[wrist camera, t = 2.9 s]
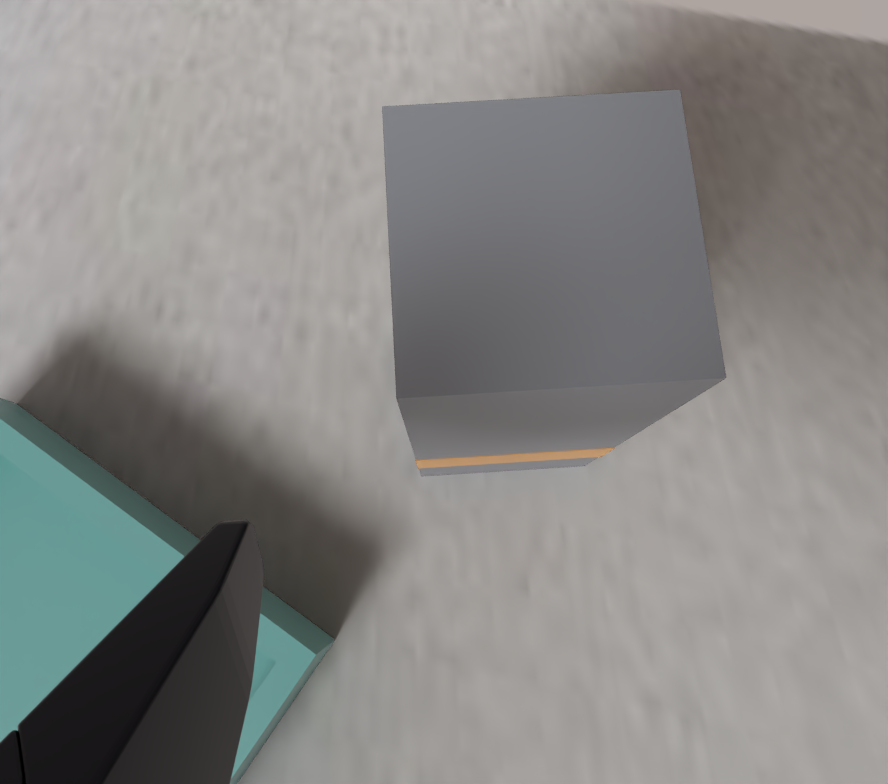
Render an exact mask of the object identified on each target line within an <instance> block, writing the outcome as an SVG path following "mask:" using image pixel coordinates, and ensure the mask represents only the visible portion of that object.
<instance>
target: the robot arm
mask: <svg viewBox="0 0 888 784" xmlns="http://www.w3.org/2000/svg"><path fill="white" fill-rule="evenodd" d="M263 582H264V567H263V561H262V557H261V553H260V549H259V545H258V542H257V538H256V534H255V530H254V527H253V525H252V523H251V522H250V521H248V520H231V521H222V522H219V523H218V524H216V525H215V526H214V527H213V528H212V529H211V530H210V531H209V532H208V533H207V534H206V535H205V536H204V537H203V538H202V539H201V540H200V541H199V542H198V543H197V544H196V545H195V546H194V547H193V548H192V549H191V550H190V551H189V552H188V553H187V554H186V555H185V556H184V557H183V558H182V559H181V560H180V561H179V563H178V564H177V565H176V566H175V567H174V568H173V569H172V570H171V571H170V572H169V573H168V574H167V575H166V576H165V577H164V578H163V579H162V580H161V581H160V582H159V583H158V584H157V585H156V586H155V587H154V588H153V589H152V590H151V591H150V592H149V593H148V594H147V595H146V596H145V597H144V598H143V599H142V600H141V601H140V602H139V603H138V604H137V605H136V606H135V607H134V608H133V609H132V610H131V611H130V612H129V613H128V614H127V615H126V616H125V617H124V618H123V619H122V620H121V621H120V622H119V623H118V624H117V625H116V626H115V627H114V628H113V629H112V630H111V631H110V632H109V633H108V634H107V635H106V636H105V637H104V638H103V639H102V640H101V641H100V642H99V643H98V644H97V645H96V646H95V647H94V648H93V649H92V650H91V651H90V652H89V653H88V654H87V655H86V656H85V657H84V658H83V659H82V660H81V661H80V662H79V663H78V664H77V665H76V666H75V667H74V668H73V669H72V671H71V672H70V673H69V674H68V675H67V676H66V677H65V678H64V679H63V680H62V681H61V682H60V683H59V684H58V685H57V686H56V687H55V688H54V689H53V690H52V691H51V692H50V693H49V694H48V695H47V696H46V697H45V698H44V699H43V700H42V701H41V702H40V703H39V704H38V705H37V706H36V707H35V708H34V709H33V710H32V711H31V712H30V713H29V714H28V715H27V716H26V717H25V718H24V719H23V720H22V721H21V722H20V723H19V724H18V727H17V728H18V731H17V730H13V731H11V732H10V733H9V734H8V735H7V736H6V737H5V738H4V739H3V740H2V741H1V742H0V784H230V781H231V776H232V772H233V768H234V763H235V759H236V755H237V750H238V746H239V742H240V737H241V733H242V728H243V724H244V720H245V715H246V711H247V707H248V702H249V697H250V692H251V687H252V680H253V672H254V664H255V655H256V646H257V637H258V628H259V619H260V610H261V600H262V591H263Z"/></svg>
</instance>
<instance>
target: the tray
mask: <svg viewBox="0 0 888 784" xmlns="http://www.w3.org/2000/svg"><path fill="white" fill-rule="evenodd" d="M199 541H200V539H198V538H197V537H196V536H194V535H193V534H192V533H190V532H189V531H188V530H186V529H185V528H184V527H182V526H181V525H179V524H178V523H177V522H175V521H174V520H173V519H171V518H170V517H169V516H167V515H166V514H165V513H163V512H162V511H161V510H159V509H158V508H157V507H155V506H154V505H152V504H151V503H150V502H148V501H147V500H146V499H144V498H143V497H142V496H140V495H139V494H138V493H136V492H135V491H134V490H132V489H131V488H129V487H128V486H127V485H125V484H124V483H123V482H121V481H120V480H119V479H117V478H116V477H115V476H113V475H112V474H111V473H109V472H108V471H106V470H105V469H104V468H102V467H101V466H100V465H98V464H97V463H96V462H94V461H93V460H92V459H90V458H89V457H88V456H86V455H85V454H84V453H82V452H81V451H79V450H78V449H77V448H75V447H74V446H73V445H71V444H70V443H69V442H67V441H66V440H65V439H63V438H62V437H61V436H59V435H58V434H56V433H55V432H54V431H52V430H51V429H50V428H48V427H47V426H46V425H44V424H43V423H42V422H40V421H39V420H38V419H36V418H35V417H33V416H32V415H31V414H29V413H28V412H27V411H25V410H24V409H23V408H21V407H20V406H19V405H17V404H16V403H13V402H10V401H7V400H5V399H2V398H0V742H1V741H2V740H3V739H4V738H5V737H6V736H7V735H8V734H9V733H10V732H11V731H13V730H17V731H18V728H17V727H18V724H19V723H20V722H21V721H22V720H23V719H24V718H25V717H26V716H27V715H28V714H29V713H30V712H31V711H32V710H33V709H34V708H35V707H36V706H37V705H38V704H39V703H40V702H41V701H42V700H43V699H44V698H45V697H46V696H47V695H48V694H49V693H50V692H51V691H52V690H53V689H54V688H55V687H56V686H57V685H58V684H59V683H60V682H61V681H62V680H63V679H64V678H65V677H66V676H67V675H68V674H69V673H70V672H71V671H72V669H73V668H74V667H75V666H76V665H77V664H78V663H79V662H80V661H81V660H82V659H83V658H84V657H85V656H86V655H87V654H88V653H89V652H90V651H91V650H92V649H93V648H94V647H95V646H96V645H97V644H98V643H99V642H100V641H101V640H102V639H103V638H104V637H105V636H106V635H107V634H108V633H109V632H110V631H111V630H112V629H113V628H114V627H115V626H116V625H117V624H118V623H119V622H120V621H121V620H122V619H123V618H124V617H125V616H126V615H127V614H128V613H129V612H130V611H131V610H132V609H133V608H134V607H135V606H136V605H137V604H138V603H139V602H140V601H141V600H142V599H143V598H144V597H145V596H146V595H147V594H148V593H149V592H150V591H151V590H152V589H153V588H154V587H155V586H156V585H157V584H158V583H159V582H160V581H161V580H162V579H163V578H164V577H165V576H166V575H167V574H168V573H169V572H170V571H171V570H172V569H173V568H174V567H175V566H176V565H177V564H178V563H179V561H180V560H181V559H182V558H183V557H184V556H185V555H186V554H187V553H188V552H189V551H190V550H191V549H192V548H193V547H194V546H195V545H196V544H197V543H198V542H199ZM334 641H335V639H334V638H332V637H331V636H330V635H328V634H327V633H325V632H324V631H323V630H321V629H320V628H319V627H317V626H316V625H315V624H313V623H312V622H311V621H309V620H308V619H307V618H305V617H304V616H302V615H301V614H300V613H298V612H297V611H296V610H294V609H293V608H292V607H290V606H289V605H288V604H286V603H285V602H284V601H282V600H281V599H280V598H278V597H277V596H275V595H274V594H273V593H271V592H270V591H269V590H267V589H266V588H265V587H263V591H262V600H261V610H260V619H259V628H258V637H257V646H256V655H255V664H254V672H253V680H252V687H251V692H250V697H249V702H248V707H247V711H246V715H245V720H244V724H243V728H242V733H241V737H240V742H239V746H238V750H237V755H236V759H235V763H234V768H233V772H232V776H231V781H230V784H237V783H238V781H239V780H240V778H241V777H242V776H243V774H244V773H245V771H246V770H247V768H248V767H249V765H250V764H251V762H252V761H253V759H254V758H255V756H256V755H257V754H258V752H259V751H260V749H261V748H262V746H263V745H264V743H265V742H266V740H267V739H268V737H269V736H270V734H271V733H272V732H273V730H274V729H275V727H276V726H277V724H278V723H279V721H280V720H281V718H282V717H283V715H284V714H285V712H286V711H287V710H288V708H289V707H290V705H291V704H292V702H293V701H294V699H295V698H296V696H297V695H298V693H299V692H300V690H301V689H302V688H303V686H304V685H305V683H306V682H307V680H308V679H309V677H310V676H311V674H312V673H313V671H314V670H315V668H316V667H317V666H318V664H319V663H320V661H321V660H322V658H323V657H324V655H325V654H326V652H327V651H328V649H329V648H330V646H331V645H332V644H333V642H334Z"/></svg>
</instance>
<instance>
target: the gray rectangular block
mask: <svg viewBox="0 0 888 784" xmlns="http://www.w3.org/2000/svg"><path fill="white" fill-rule="evenodd" d="M382 114H383V134H384V155H385V175H386V195H387V216H388V236H389V256H390V277H391V297H392V317H393V338H394V358H395V378H396V398H397V402H398V405H399V408H400V411H401V414H402V417H403V420H404V423H405V427H406V430H407V433H408V436H409V439H410V442H411V445H412V448H413V451H414V454H415V459H416V464H417V467H418V469H419V470H420V473H421V476H435V475H450V474H466V473H482V472H497V471H513V470H529V469H544V468H560V467H576V466H585V465H587V464H589V463H590V462H592V461H593V460H595V459H597V458H598V457H602V456H603V455H605V454H607V453H608V452H610V451H611V450H613V449H615V447H616V446H618V445H619V444H621V443H622V442H624V441H626V440H627V439H629V438H630V437H632V436H634V435H635V434H637V433H638V432H640V431H642V430H643V429H645V428H647V427H648V426H650V425H651V424H653V423H655V422H656V421H658V420H659V419H661V418H663V417H664V416H666V415H667V414H669V413H671V412H672V411H674V410H676V409H677V408H679V407H680V406H682V405H684V404H685V403H687V402H688V401H690V400H692V399H693V398H695V397H696V396H698V395H700V394H701V393H703V392H705V391H706V390H708V389H709V388H711V387H713V386H714V385H716V384H717V383H719V382H721V381H722V380H724V379H725V378H726V373H725V367H724V361H723V355H722V348H721V342H720V336H719V330H718V323H717V317H716V311H715V305H714V298H713V292H712V286H711V280H710V273H709V267H708V261H707V255H706V248H705V242H704V236H703V230H702V223H701V217H700V211H699V205H698V198H697V192H696V186H695V180H694V173H693V167H692V161H691V155H690V148H689V142H688V136H687V130H686V123H685V117H684V111H683V105H682V98H681V92H680V89H678V90H661V91H644V92H626V93H609V94H591V95H574V96H557V97H539V98H522V99H505V100H487V101H470V102H453V103H435V104H418V105H401V106H383V107H382Z"/></svg>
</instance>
